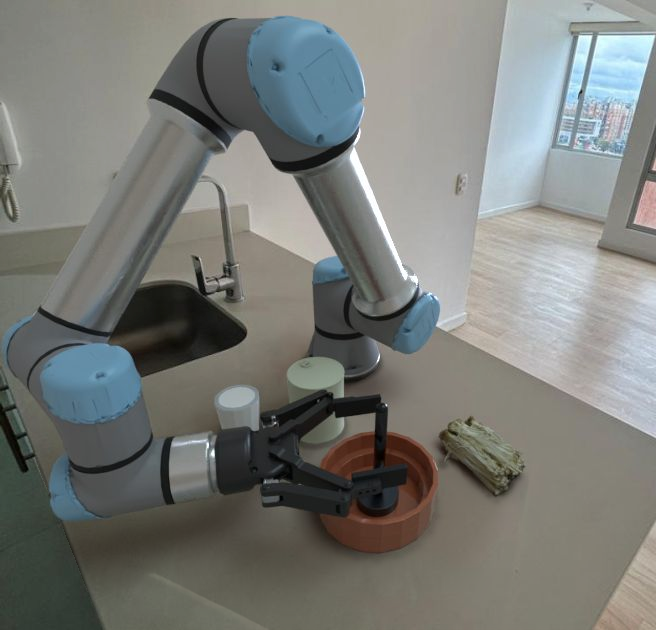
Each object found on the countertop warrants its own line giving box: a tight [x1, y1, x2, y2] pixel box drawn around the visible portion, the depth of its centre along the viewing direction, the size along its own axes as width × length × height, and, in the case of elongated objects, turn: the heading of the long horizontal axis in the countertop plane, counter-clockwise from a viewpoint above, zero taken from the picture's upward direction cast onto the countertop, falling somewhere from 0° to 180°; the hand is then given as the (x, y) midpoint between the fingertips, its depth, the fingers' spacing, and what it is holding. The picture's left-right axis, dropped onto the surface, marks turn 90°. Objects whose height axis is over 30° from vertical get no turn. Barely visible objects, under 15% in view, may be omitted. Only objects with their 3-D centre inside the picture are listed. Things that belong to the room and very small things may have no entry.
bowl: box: [319, 430, 439, 554], centre depth 63 cm, size 16×16×6 cm
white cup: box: [213, 384, 260, 431], centre depth 73 cm, size 7×7×7 cm
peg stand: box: [356, 402, 399, 517], centre depth 60 cm, size 6×6×17 cm
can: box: [286, 357, 345, 444], centre depth 74 cm, size 9×9×12 cm
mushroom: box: [438, 415, 527, 497], centre depth 71 cm, size 14×10×5 cm, turn 42°
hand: (392, 434), depth 59 cm, fingers open, 13 cm apart
